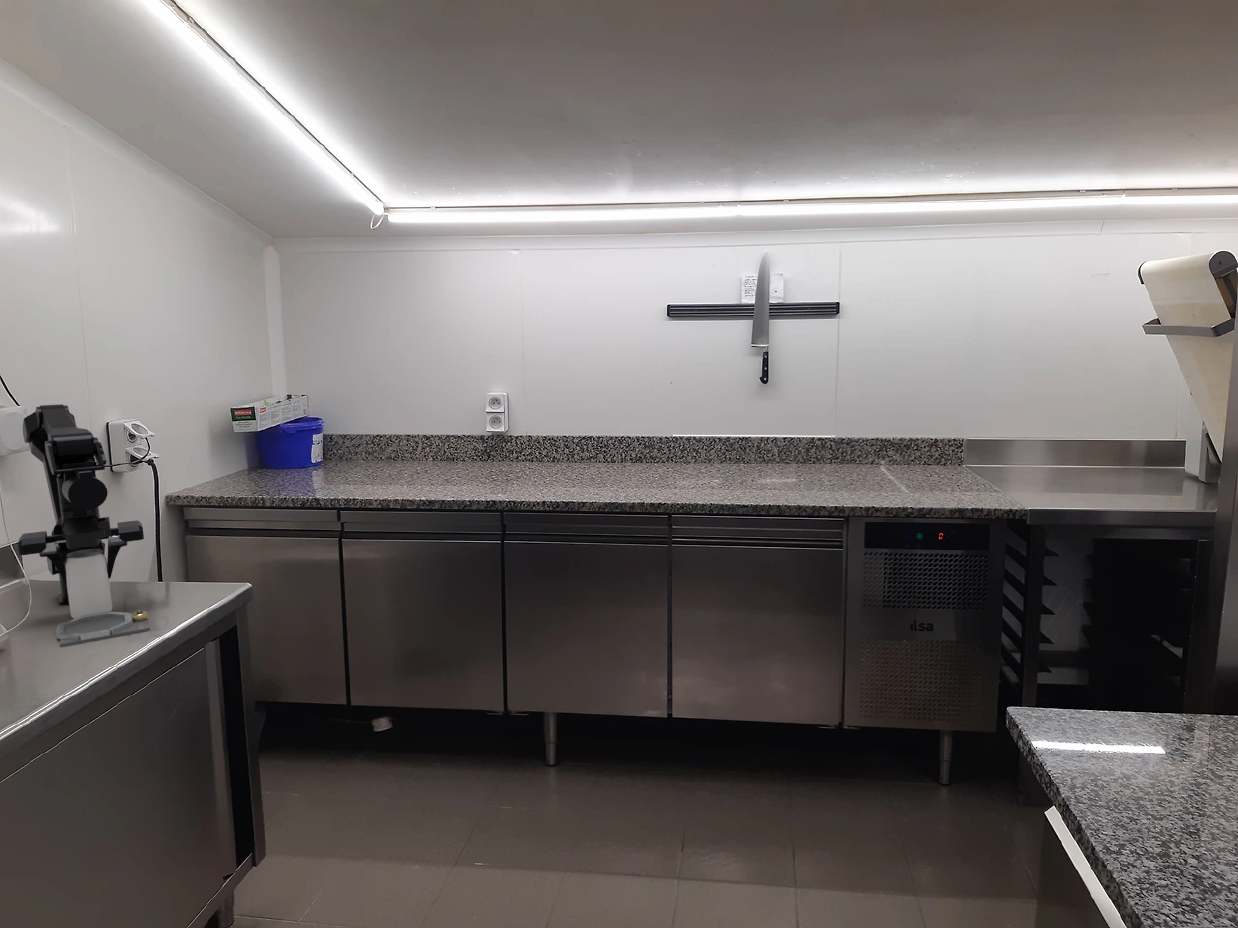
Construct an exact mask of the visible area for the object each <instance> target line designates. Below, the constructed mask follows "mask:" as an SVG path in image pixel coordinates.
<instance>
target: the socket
mask: <svg viewBox="0 0 1238 928" xmlns="http://www.w3.org/2000/svg"><path fill="white" fill-rule="evenodd" d="M102 618H118V619H125V622H123V623H121V624H118V625H116V626H114V627H112V628H110V629H106V630H101V631H95V632H90V633H84V634H77V633H66V632H64V631H65V629H67V628H70V627H72V626H74V625H77V624H79V623H81V622H85V621H91V620H96V619H102ZM129 626H132V617H131V612H123V611H122V612H119V611H112V610H111V611H110V612H103V613H97V614H91V615H85V616H81V617H77V618H75V619H74V618H72V619H70V620H68V621H65V622H63V623H60V624H59V625H57V626H56V631H55V633H56V634H55V635H56V639H58V640H60V639H66V640H77V641H79V640H86V639H92V638H97V637H103V636H108V635H110V634H114V633H117V632H119V631H121V630H123V629H125V628H127V627H129Z"/></svg>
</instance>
